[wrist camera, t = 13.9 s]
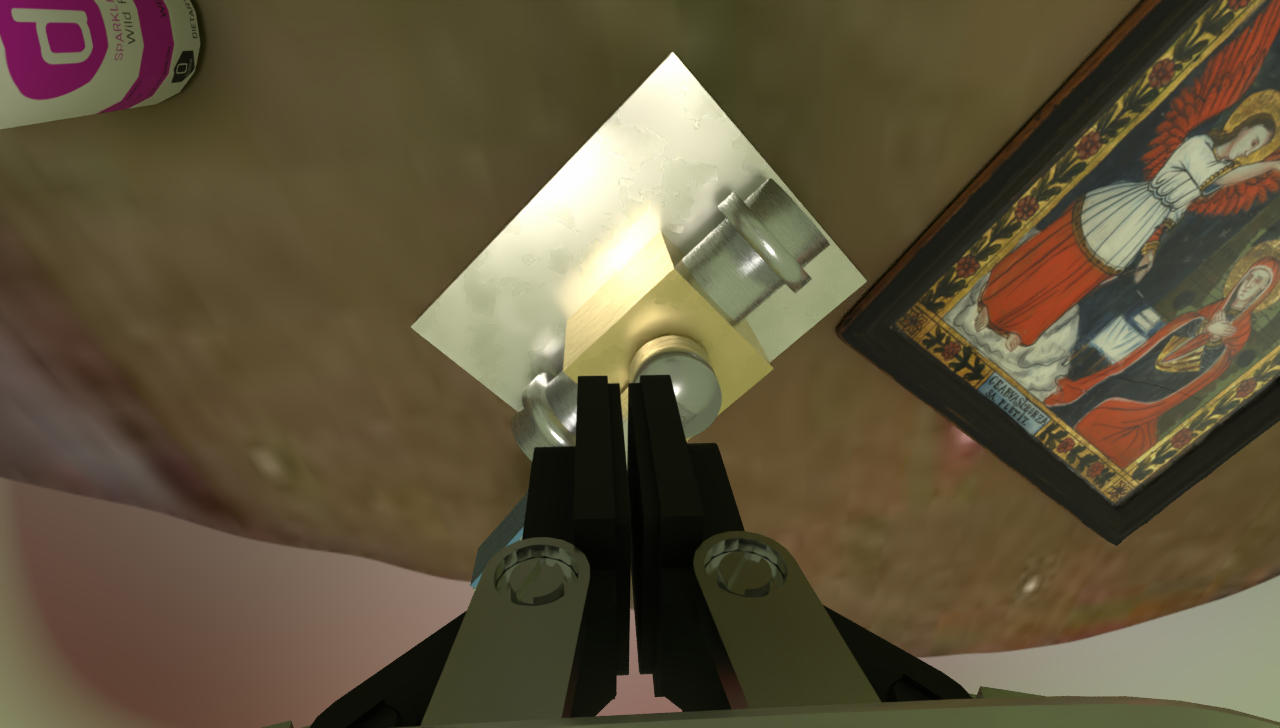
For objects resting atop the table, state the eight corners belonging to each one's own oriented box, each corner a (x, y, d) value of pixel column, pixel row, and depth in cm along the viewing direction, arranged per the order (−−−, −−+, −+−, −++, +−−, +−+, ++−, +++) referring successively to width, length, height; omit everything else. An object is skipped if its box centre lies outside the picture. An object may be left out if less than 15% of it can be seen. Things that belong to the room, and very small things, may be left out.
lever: (665, 319, 34) (672, 344, 31) (728, 366, 35) (740, 393, 32) (467, 545, 39) (458, 583, 36) (529, 578, 41) (525, 616, 38)
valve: (670, 51, 36) (691, 55, 29) (861, 276, 42) (916, 324, 35) (414, 320, 42) (378, 380, 34) (616, 481, 48) (621, 559, 41)
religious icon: (1263, -246, 32) (1322, -269, 30) (1585, 136, 42) (1649, 143, 40) (796, 364, 46) (808, 385, 43) (1123, 542, 56) (1149, 567, 53)
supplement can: (191, -67, 32) (-94, -140, 19) (218, 113, 36) (-5, 161, 22) (6, -94, 31) (-436, -190, 18) (53, 95, 35) (-285, 133, 21)
